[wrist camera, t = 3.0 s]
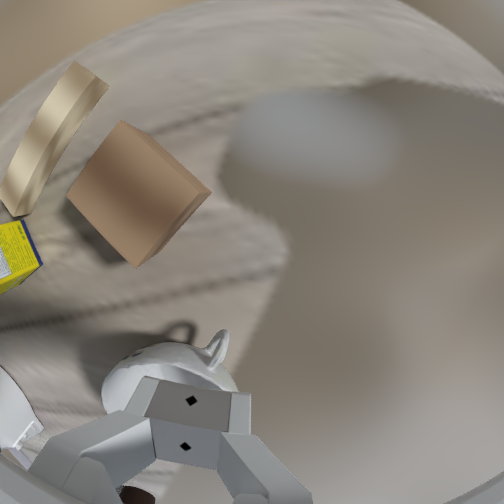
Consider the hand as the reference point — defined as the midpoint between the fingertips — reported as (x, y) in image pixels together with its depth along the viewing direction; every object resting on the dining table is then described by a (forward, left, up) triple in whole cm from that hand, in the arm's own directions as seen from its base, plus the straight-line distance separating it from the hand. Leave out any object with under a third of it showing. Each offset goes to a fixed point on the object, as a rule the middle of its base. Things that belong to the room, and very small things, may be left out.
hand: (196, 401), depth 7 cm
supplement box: (-16, +19, -18) cm, 31 cm away
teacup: (-11, -4, -18) cm, 22 cm away
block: (0, +9, -18) cm, 20 cm away
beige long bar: (-3, +22, -18) cm, 29 cm away
